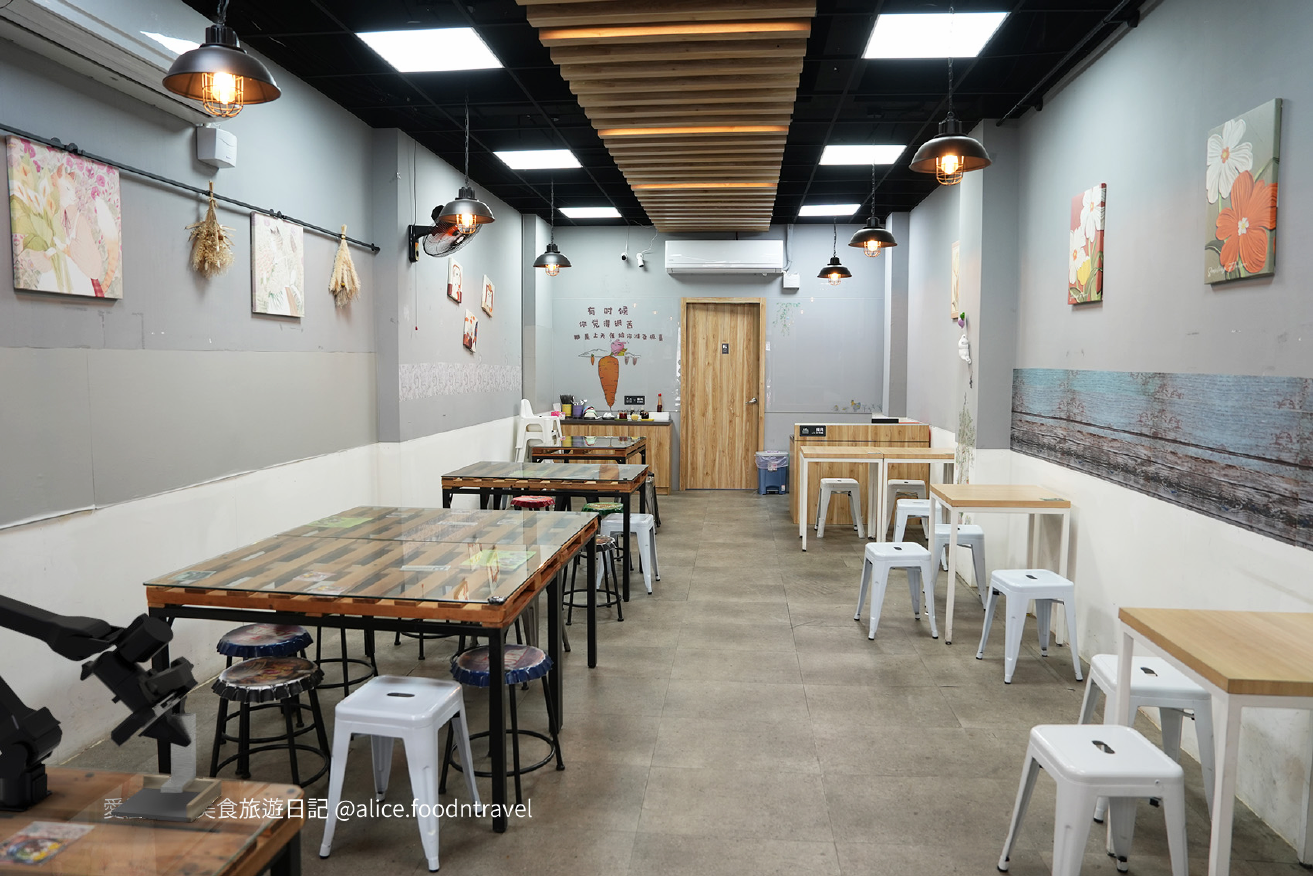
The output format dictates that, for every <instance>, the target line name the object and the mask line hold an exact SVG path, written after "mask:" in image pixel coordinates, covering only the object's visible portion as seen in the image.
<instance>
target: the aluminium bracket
mask: <svg viewBox="0 0 1313 876" xmlns="http://www.w3.org/2000/svg"><path fill="white" fill-rule="evenodd" d="M172 719H173V720H174V721H175V723H176V724H177V725H178V726H179V728H180V729H181V730H182V731H183V732H184V734H185V735H186V736H187V737H188V739H189V740H190V742H191V743H190V744H189V745H188V746H187V747H183V746H179V745H176V744H172V743H170V776H171V778H170V779H169V780H168V781H167V782H166V783H164V784H163V785H162V786H161V793H182V792H183V791H184V790H185V789H186V788H187V787H188V786H189V785H190V784H191V783H192V782H193V781H194V780H195V779H196V778H197V730H196V728H197V713H196V712H185V713H174V714H173V715H172Z"/></svg>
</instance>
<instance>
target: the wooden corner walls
mask: <svg viewBox="0 0 1313 876" xmlns="http://www.w3.org/2000/svg"><path fill="white" fill-rule="evenodd" d="M169 776H170V775H165V774H164V775H162V774H149V773H148V774H147V773H146V774H145V775H143V778H142V780H143V783H142V788H150V789H161V786H162V785H163V784H164V783H166V782H167V781H168V780H169V779H170V778H171V777H169ZM199 778H200V777H196V779H195V780H194V781H193V782H192V783H191V784H190V785H189V786H188V787H187V788H186V789H185V790H184V791H189V792H201V794H199V795H198V796H197V797H196V798H195V799H193V800H192V801H191V802H190V803H189V804H187V822H186V823H192V822H193V821H195V819H197V818H198V817H199V816H200V815H202V813H203V812H205V809H206V808H207V807H208V806H207V805H210V804H211V803H212V802H213V800H215V799H216V798H217V797H219V796H220V795H221V796H222V781H223V780H222V779H215V778H203V779H199ZM219 794H220V795H219ZM219 798H220V797H219ZM211 805H212V804H211ZM211 805H210V806H211ZM208 808H209V807H208ZM208 808H207V809H208ZM201 809H202V810H201ZM207 809H206V810H207ZM201 811H202V812H201ZM197 816H198V817H197ZM196 817H197V818H196ZM192 818H193V819H192ZM190 821H191V822H190Z"/></svg>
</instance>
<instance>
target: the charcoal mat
mask: <svg viewBox="0 0 1313 876" xmlns="http://www.w3.org/2000/svg"><path fill="white" fill-rule="evenodd" d="M199 794H201V792H189V791H183V792H182V793H161V789H150V788H143V787H142V788H141V789H140V790H138V791H137V792H135V793H134V794H133V795H132V796H130V797H129V798H127V799H126V800H124V801H123V802H122V803H120V805H118V806H117V807H115V808H114V809H113V810H111V813H110V816H111V815H114V816H113V817H118V816H127V817H126V818H130V817H142V818H141V819H143V818H148V819H147V820H156V819H157V820H158V821H169V822H171V821H172V822H183V823H188V822H187V804H189V803H190V802H191V801H192V800H193V799H195V798H196V797H197V796H198V795H199ZM219 795H220V794H219ZM207 806H209V805H207ZM209 807H210V806H209ZM201 810H202V809H201ZM201 812H202V811H201ZM202 813H203V812H202ZM115 815H116V816H115ZM198 817H199V816H197V818H198ZM192 819H193V818H192ZM189 823H192V822H191V821H190V822H189Z"/></svg>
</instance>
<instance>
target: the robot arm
mask: <svg viewBox="0 0 1313 876" xmlns="http://www.w3.org/2000/svg"><path fill="white" fill-rule="evenodd" d="M0 627H1V628H4V629H8V630H10V631H13V632H17V633H19V634H22V635H25V636H28V637H31V638H33V639H37V640H39V641H41V642H44V643H45V644H47V646H48V647H49V648H50V649H51V651H53V652H54V653H56V654H57V655H59V656H61V657H63V658H65V659H67V660H69V661H71V662H81V661H84V660H86V659H88V658H91V657H92V656H94V655H96V654H100V655H99V656H97V657H96V658H95V659H94V660H88V661H86V662H85V663H82V664H81V672H80V675H79V681H82V682H84V681H85V680H87V679H89V678H91V677H92V676H95V677H96V678H97V679H98V681H100V682H101V683H102V684H103V685H104V686H105V687H106V688H107V690H109V691H110V692H111V693H113V695H114V697H113V698H111V701H112V703H113V704H118V703H119V702H121V703H122V704H123V705H124V706H125V707H126V708H127V709H128V710H129V711H131V713H130V714H129V715H128V716H127V717H126V718H125V719H124V720H123V721H121V722H120V723H119V724H118V725H117V726H115V728H113V730H111V732H110V740H111V741H112V742H113V743H114V744H115V745H116V746H117V747H118V748H119V747H121V746H122V745H124V744H125V743H127V742H128V741H129V740H130V739H131V738H132V736H134V735H135V734H136V733H137V732H138V731H139V730H140V729H142V730H141V732H140V733H139V734H137V736H138V738H142V737H145V738H150V739H153V740H154V739H155V740H159V741H162V742H167V743H169V744H171V743H172V744H176V745H179V746H183V747H187V746H188V745H189V744H190V743H191V742H190V740H189V739H188V737H187V736H186V735H185V734H184V732H183V731H182V730H181V729H180V728H179V726H178V725H177V724H176V723H175V721H174V720H173V719H172V715H173V714H174V713H186V711H185V706H186V701H187V700H188V694H189V693H190V692H191V691H192V690H193V689H194V688H195V687H197V685H199V683H200V682H198V681H197V679H195V677H194V674H193V672H192V671H193V668H195V664H194V663H191V662H190V661H189V660H188V659H187V658H186V657H184V656H180V657H177V658H175V659H173V660H171V662H170V664H169V665H170V667H168V668H166V669H165V670H162V671H160V672H158V671H157V670H156V669H155V668H152V667H151V668H149V669H147V670H146V669H145V668H143V665H141V664H144V663H147V662H149V661H150V660H151V659H152V658H154V657H155V655H157V654H158V653H160V651H161V650H162V649H163V648H165V646H167V645H168V644H169V643H170V642H171V641H173V639H174V631H173V630H172V628H171V627H170V625H169V623H167V622H166V621H163V620H161V619H159V618H157V617H153V616H149V615H148V614H147V613H146V612H144V613H142V614H139V615H138V616H137V617H135V618H134V619H133V620H132V621H131V623H130V624H129V625H128V626H126V627H124V626H119V625H112V624H110V623H109V622H108V621H106V620H104V619H101V618H96V617H89V616H86V615H84V616H83V615H70V616H69V615H62V614H59V613H55V612H54V611H53V612H52V611H49V610H47V609H44V608H40V607H37V606H35V605H32V604H29V603H26V602H23V601H20V600H18V599H14V598H11V597H9V596H6V595H3V594H0ZM112 647H115V649H113V650H108V649H110V648H112ZM60 724H62V721H60V720H58V719H57V718H55V716H54V715H53V714H52V712H51V710H50V709H49V708H48V707H47V706H42V707H41V708H39V709H34V708H31V707H28V706H27V705H26V704H25V703H24V702H23V701H22V700H21V698H20V697H19V696H18V695H17V694H16V692H15V691H14V689H12V688H11V687H10V685H9V684H8V683H7V682H6V681H5V679H4V678H3V677H2V675H0V811H13V812H25V811H28V810H29V809H31V808H32V807H33V806H35V805H37V804H38V803H40V802H42V801H43V800H44V799H47V798H48V797H50V796H51V795H52V794H53V790H51V789H50V790H48V773H46V763H43V762H44V761H45V760H47V759H49V758H50V757H52V754H53V752H54V751H55V749H56V748H58V746H59V745H60V744H61V741H62V736H63V729H62V728H61V726H60Z"/></svg>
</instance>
